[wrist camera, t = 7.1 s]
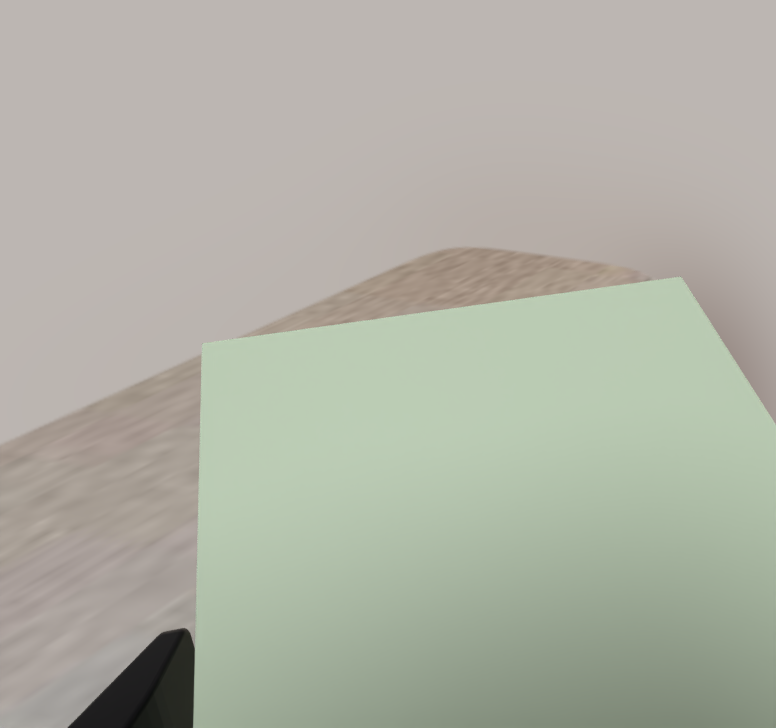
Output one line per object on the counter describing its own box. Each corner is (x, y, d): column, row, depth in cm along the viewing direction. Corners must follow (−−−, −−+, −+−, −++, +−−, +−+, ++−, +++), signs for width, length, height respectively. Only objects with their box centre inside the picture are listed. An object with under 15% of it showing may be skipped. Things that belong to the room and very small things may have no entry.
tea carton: (536, 711, 14) (1127, 974, 3) (347, 755, 13) (180, 1287, 2) (483, 517, 16) (680, 276, 6) (325, 547, 16) (201, 343, 5)
